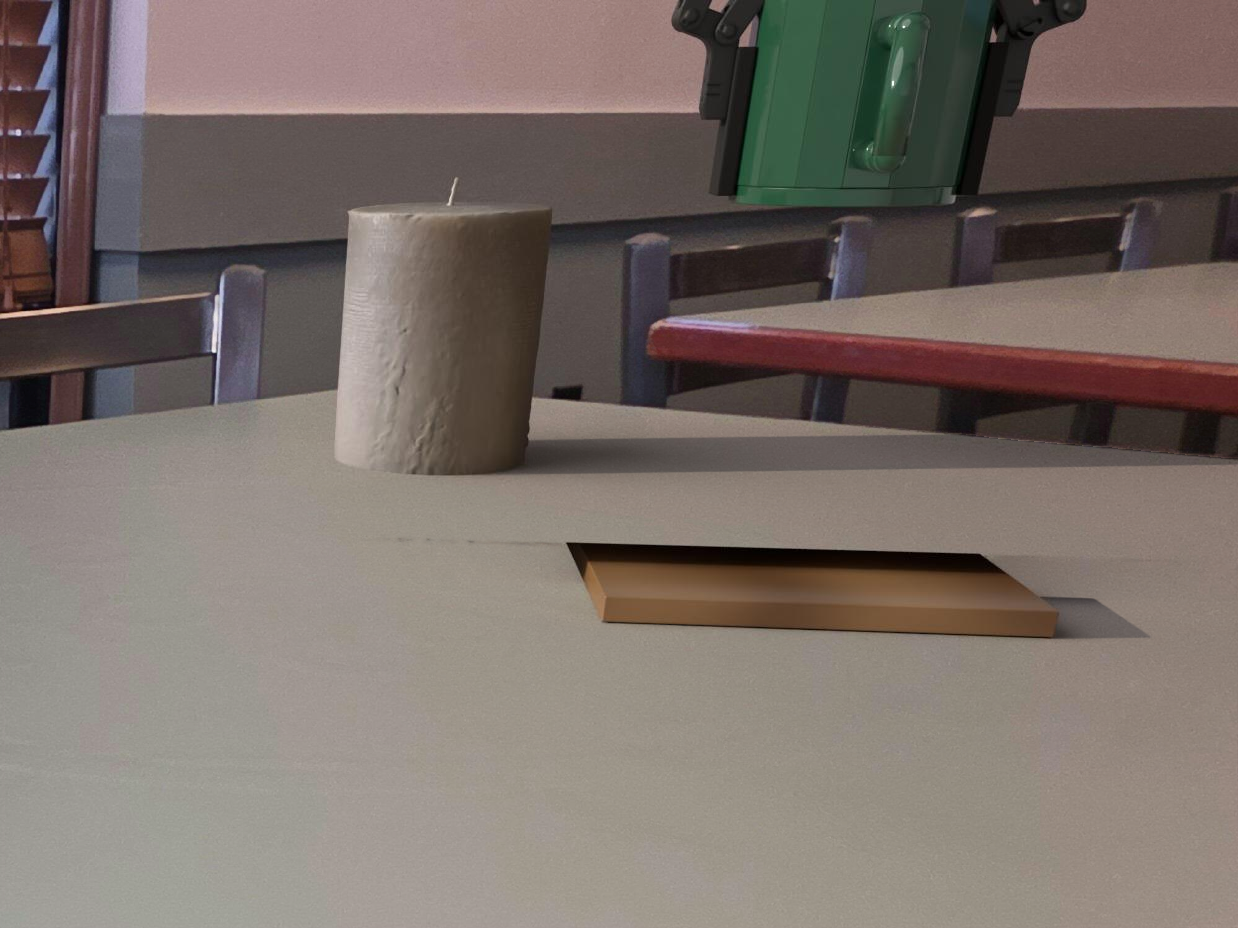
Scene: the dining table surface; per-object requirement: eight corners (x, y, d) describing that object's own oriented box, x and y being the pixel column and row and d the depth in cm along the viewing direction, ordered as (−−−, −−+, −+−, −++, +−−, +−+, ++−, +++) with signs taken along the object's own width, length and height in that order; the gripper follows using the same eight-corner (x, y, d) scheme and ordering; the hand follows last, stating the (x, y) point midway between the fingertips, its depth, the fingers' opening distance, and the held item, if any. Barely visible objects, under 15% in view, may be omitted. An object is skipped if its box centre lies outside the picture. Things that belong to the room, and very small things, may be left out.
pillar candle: (548, 488, 90) (585, 174, 84) (481, 522, 83) (517, 181, 77) (373, 471, 95) (396, 173, 89) (296, 501, 88) (315, 180, 82)
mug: (711, 197, 90) (741, 1, 86) (923, 196, 88) (963, -4, 85) (759, 211, 78) (796, -16, 74) (1007, 211, 76) (1058, -23, 72)
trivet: (928, 541, 78) (933, 519, 78) (1053, 637, 64) (1060, 611, 64) (560, 531, 81) (562, 510, 81) (601, 621, 67) (605, 596, 66)
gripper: (673, -364, 74) (602, 198, 84) (1271, -401, 70) (1124, 197, 79) (652, -325, 81) (588, 191, 90) (1196, -357, 76) (1069, 190, 86)
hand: (839, 194), depth 85 cm, fingers closed on mug, 10 cm apart
